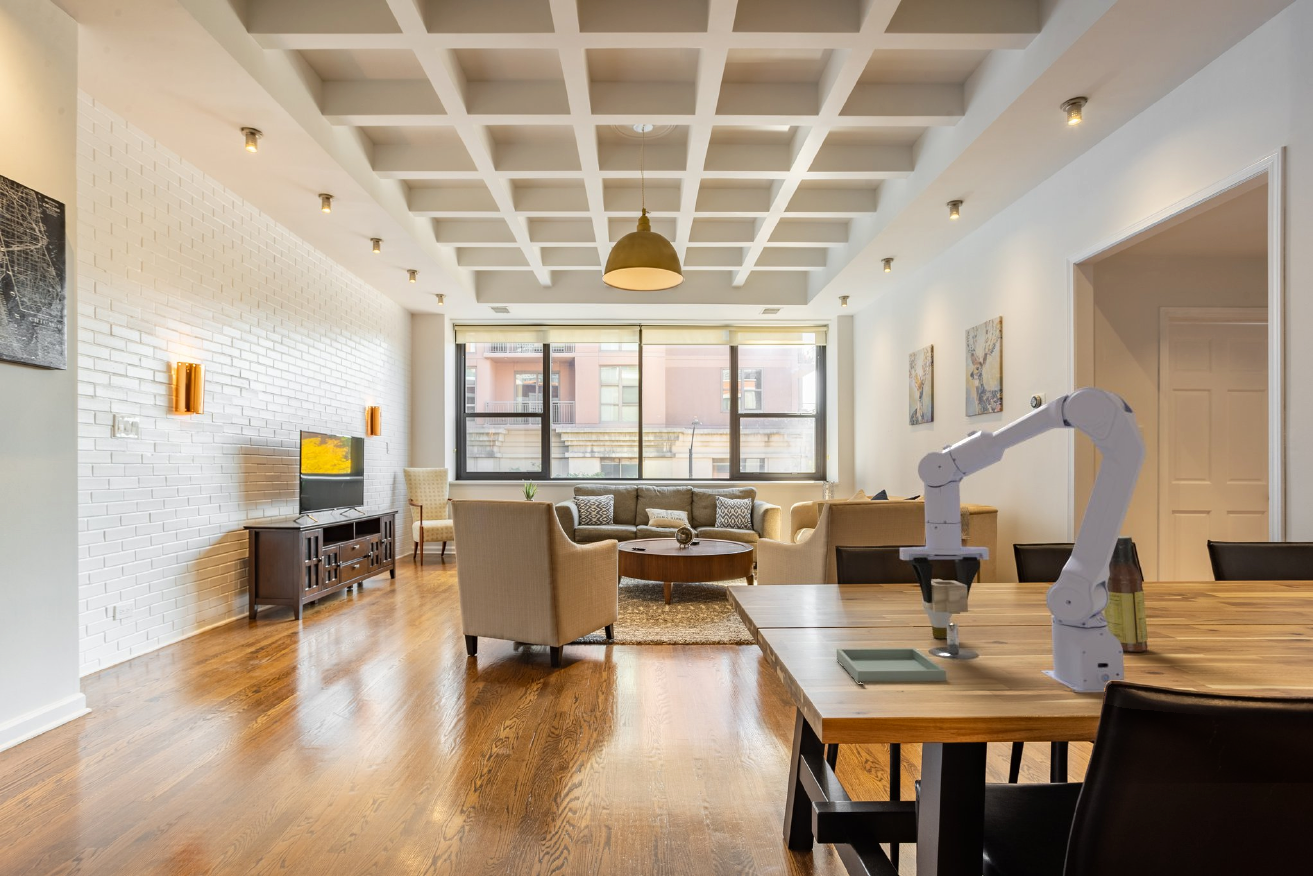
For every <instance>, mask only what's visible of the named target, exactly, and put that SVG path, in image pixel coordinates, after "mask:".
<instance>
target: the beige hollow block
mask: <svg viewBox="0 0 1313 876" xmlns="http://www.w3.org/2000/svg"><path fill="white" fill-rule="evenodd" d="M931 588H932V603H926V602H925V601H924V606H925V607H927V608H929V609H930V610H932V611H934V612H948V613H949V614H952V615H960V614H961V613H968V612H969V607H968V606H969V603H968V600H969V597H968V598H967V585H964V584H962V583H959V582H958V580H957V581H956V580H943V579H940V578H937V579H936V578H934V579H933V578H932V579H931Z"/></svg>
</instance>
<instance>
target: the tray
mask: <svg viewBox="0 0 1313 876" xmlns="http://www.w3.org/2000/svg"><path fill="white" fill-rule="evenodd" d="M837 660H838V661H839V662H840V663H841V664H842V665H843V666H844V668H845V669H846V670H847V671H848V672H849V673H850V675H852V677H853V678H854V679H855V680H856V681H857V682H858V683H860V682H861V683H865V682H868V683H869V682H878V683H879V682H882V683H884V682H947V670H946V669H945V668H943V667H942V666H940V665H939V664H938V663H937V662H935V661H934V660H932V659H931V658H929V657H928V656H926V655H925V654H924V653H922V652H921V651H920V650H919V649H917V648H916V647H914V648H913V647H912V648H911V647H910V648H907V647H906V648H905V647H903V648H902V647H899V648H898V647H897V648H896V647H894V648H893V647H891V648H890V647H889V648H888V647H887V648H881V647H880V648H876V647H875V648H873V647H872V648H836V661H837ZM838 661H837V662H838ZM844 668H843V669H844ZM845 669H844V670H845ZM846 670H845V671H846ZM850 675H849V676H850ZM852 677H851V678H852ZM853 678H852V679H853ZM854 679H853V680H854Z"/></svg>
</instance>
